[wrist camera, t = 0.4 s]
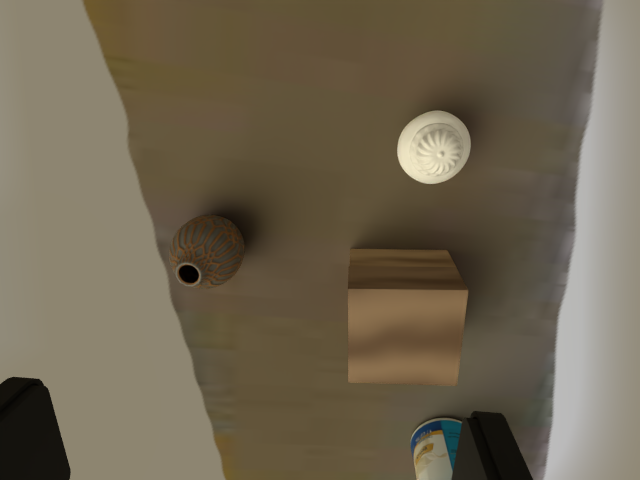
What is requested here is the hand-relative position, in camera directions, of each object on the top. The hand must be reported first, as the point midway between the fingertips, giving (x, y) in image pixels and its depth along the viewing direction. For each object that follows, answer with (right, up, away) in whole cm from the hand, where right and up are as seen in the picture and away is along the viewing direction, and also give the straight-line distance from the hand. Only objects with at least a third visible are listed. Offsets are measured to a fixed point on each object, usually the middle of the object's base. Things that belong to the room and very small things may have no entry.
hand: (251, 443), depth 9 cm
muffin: (+12, +14, +29) cm, 34 cm away
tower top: (+9, -3, +31) cm, 33 cm away
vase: (-9, +5, +34) cm, 36 cm away
